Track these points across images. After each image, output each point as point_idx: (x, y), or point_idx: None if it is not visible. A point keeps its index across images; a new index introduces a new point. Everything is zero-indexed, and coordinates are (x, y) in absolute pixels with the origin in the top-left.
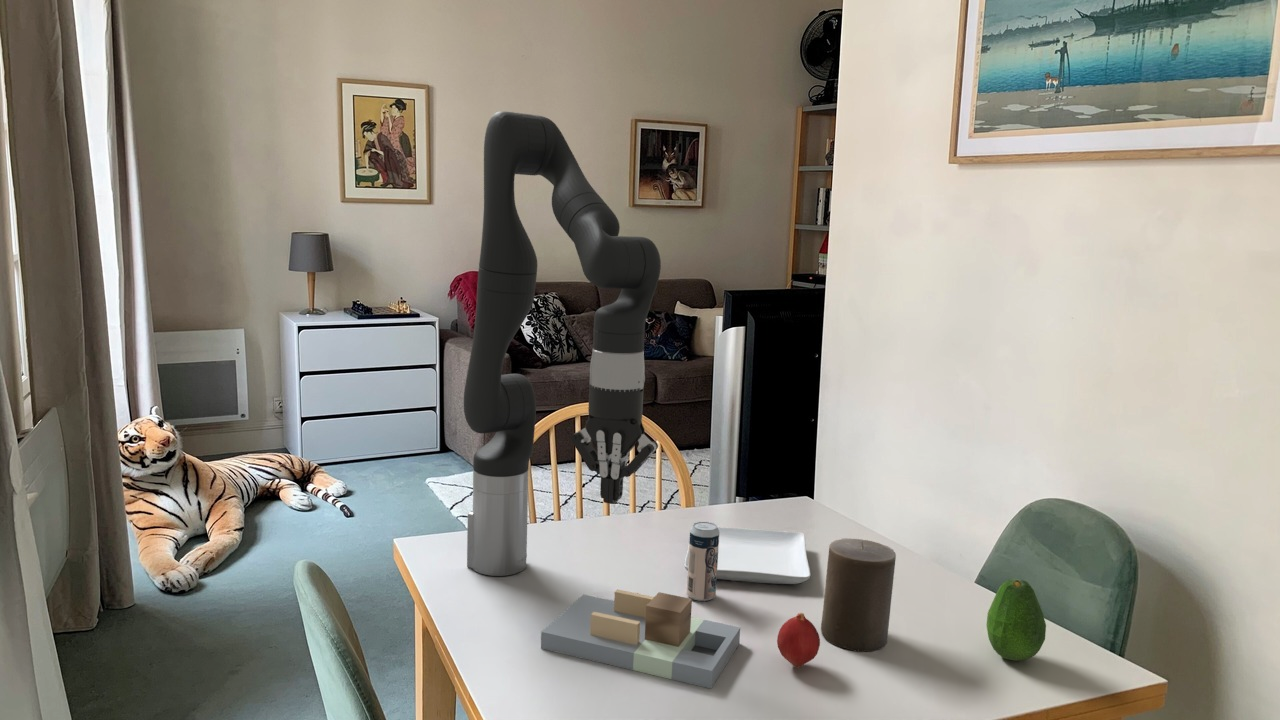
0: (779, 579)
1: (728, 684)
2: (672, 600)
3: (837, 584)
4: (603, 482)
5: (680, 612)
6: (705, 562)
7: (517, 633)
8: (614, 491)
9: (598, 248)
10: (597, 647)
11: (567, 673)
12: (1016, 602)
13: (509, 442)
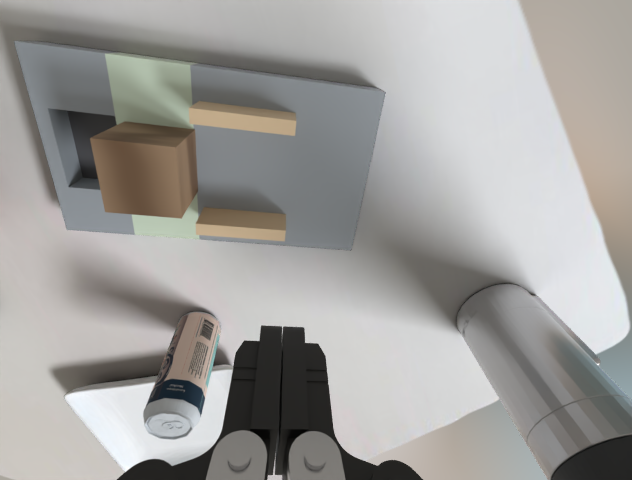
0: (108, 383)
1: (20, 70)
2: (137, 191)
3: None
4: (316, 408)
5: (90, 139)
6: (172, 359)
7: (428, 128)
8: (255, 375)
9: None
10: (268, 75)
11: (305, 6)
12: None
13: None
